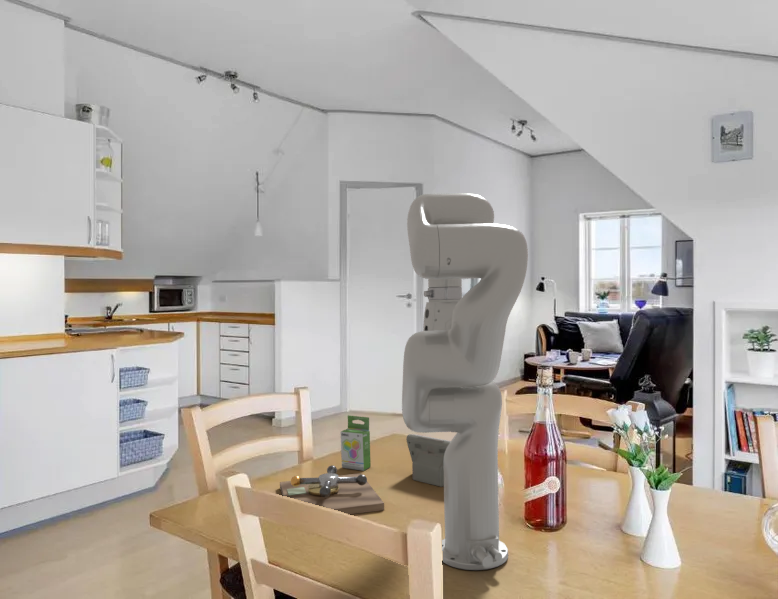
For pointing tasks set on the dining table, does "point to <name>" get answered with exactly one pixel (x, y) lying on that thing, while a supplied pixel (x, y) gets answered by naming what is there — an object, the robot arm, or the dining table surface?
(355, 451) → the ink box
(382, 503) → the stand
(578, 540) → the dining table surface
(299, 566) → the dining table surface
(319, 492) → the capstan
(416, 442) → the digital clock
